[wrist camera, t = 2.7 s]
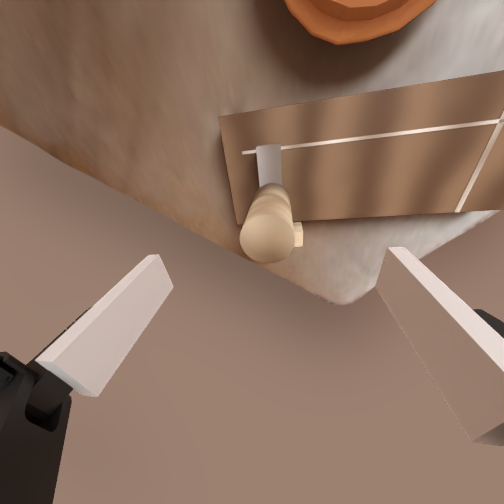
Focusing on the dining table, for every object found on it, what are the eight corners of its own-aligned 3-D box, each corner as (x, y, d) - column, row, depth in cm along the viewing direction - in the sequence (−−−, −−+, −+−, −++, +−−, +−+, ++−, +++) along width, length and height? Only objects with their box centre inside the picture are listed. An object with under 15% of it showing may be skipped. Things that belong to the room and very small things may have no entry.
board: (241, 216, 28) (237, 224, 25) (225, 118, 21) (217, 116, 19) (480, 200, 23) (505, 209, 20) (554, 65, 16) (604, 53, 14)
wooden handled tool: (252, 230, 28) (233, 296, 17) (241, 146, 22) (201, 164, 11) (299, 228, 27) (312, 297, 16) (301, 138, 21) (324, 149, 10)
